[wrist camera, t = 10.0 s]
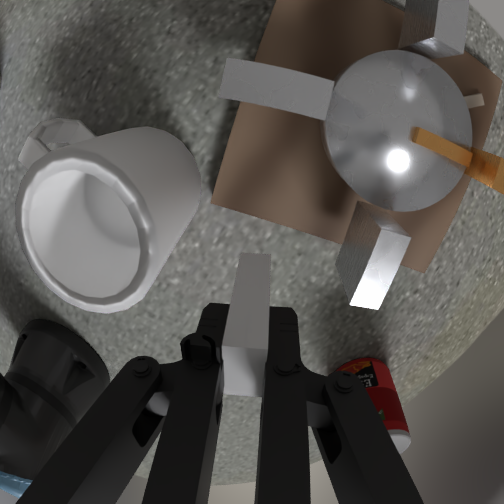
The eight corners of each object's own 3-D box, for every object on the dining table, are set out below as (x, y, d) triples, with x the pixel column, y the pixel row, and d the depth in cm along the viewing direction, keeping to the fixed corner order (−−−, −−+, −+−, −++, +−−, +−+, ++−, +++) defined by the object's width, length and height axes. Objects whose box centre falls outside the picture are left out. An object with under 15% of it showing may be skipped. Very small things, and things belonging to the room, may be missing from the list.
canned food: (364, 346, 31) (388, 428, 22) (399, 371, 33) (423, 442, 24) (315, 381, 34) (323, 460, 24) (354, 401, 36) (367, 471, 27)
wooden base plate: (213, 197, 25) (204, 214, 21) (288, -27, 16) (292, -48, 12) (418, 265, 26) (435, 288, 23) (492, 80, 17) (519, 82, 14)
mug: (54, 167, 24) (-25, 207, 14) (112, 78, 20) (26, 76, 11) (153, 261, 28) (105, 337, 18) (227, 184, 24) (200, 241, 15)
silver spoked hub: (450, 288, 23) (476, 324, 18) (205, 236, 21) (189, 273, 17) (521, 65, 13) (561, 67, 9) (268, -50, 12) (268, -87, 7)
